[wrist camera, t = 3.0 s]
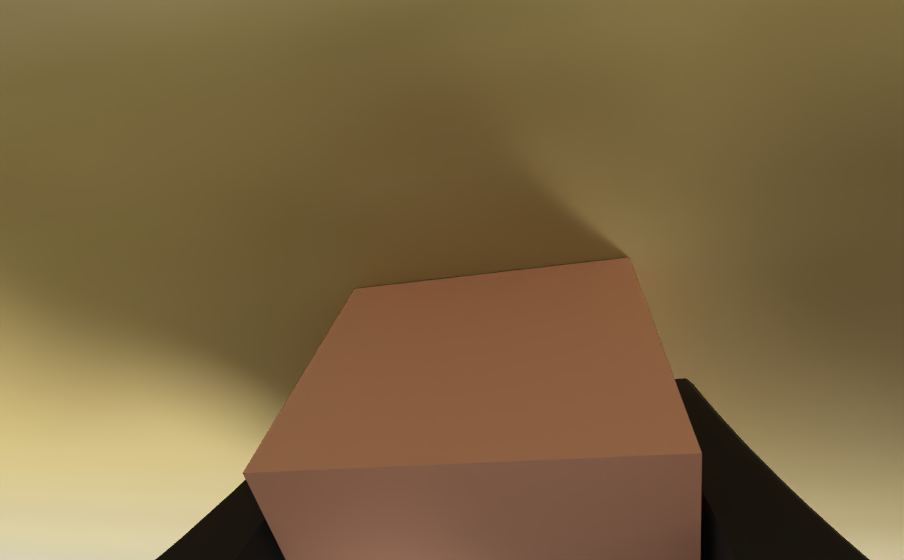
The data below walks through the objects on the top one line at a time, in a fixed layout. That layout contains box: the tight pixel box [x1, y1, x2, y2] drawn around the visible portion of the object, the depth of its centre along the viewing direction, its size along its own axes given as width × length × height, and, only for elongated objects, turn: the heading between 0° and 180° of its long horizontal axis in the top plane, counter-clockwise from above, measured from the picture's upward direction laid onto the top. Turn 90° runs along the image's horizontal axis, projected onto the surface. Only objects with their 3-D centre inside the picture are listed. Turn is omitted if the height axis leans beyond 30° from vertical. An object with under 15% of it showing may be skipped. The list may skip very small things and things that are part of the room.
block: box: [243, 257, 702, 560], centre depth 9 cm, size 5×5×4 cm
